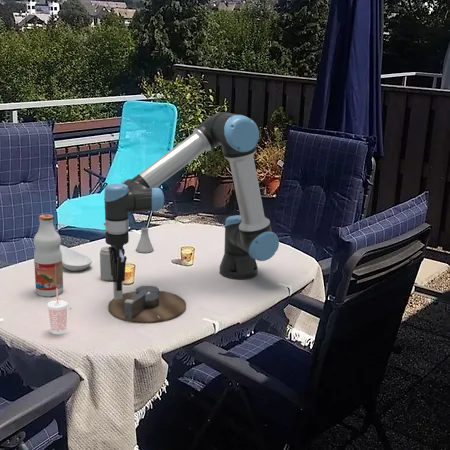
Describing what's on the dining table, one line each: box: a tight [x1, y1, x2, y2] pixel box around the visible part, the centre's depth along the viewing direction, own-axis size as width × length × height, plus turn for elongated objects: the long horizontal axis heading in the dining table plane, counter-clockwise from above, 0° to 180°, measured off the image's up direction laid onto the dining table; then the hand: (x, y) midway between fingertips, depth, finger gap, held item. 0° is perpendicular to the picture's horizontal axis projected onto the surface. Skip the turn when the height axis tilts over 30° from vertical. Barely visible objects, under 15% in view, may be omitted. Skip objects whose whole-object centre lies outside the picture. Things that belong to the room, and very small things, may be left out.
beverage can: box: [99, 246, 114, 282], centre depth 236 cm, size 6×6×12 cm
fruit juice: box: [33, 213, 64, 297], centre depth 220 cm, size 9×9×28 cm
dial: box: [125, 285, 160, 319], centre depth 208 cm, size 17×8×6 cm, turn 159°
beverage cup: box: [46, 288, 69, 335], centre depth 192 cm, size 6×6×14 cm
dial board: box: [107, 290, 187, 324], centre depth 213 cm, size 26×26×1 cm
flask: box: [135, 227, 154, 254], centre depth 271 cm, size 7×7×10 cm
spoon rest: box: [60, 244, 93, 272], centre depth 250 cm, size 24×12×7 cm, turn 53°
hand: (118, 298), depth 213 cm, fingers closed
